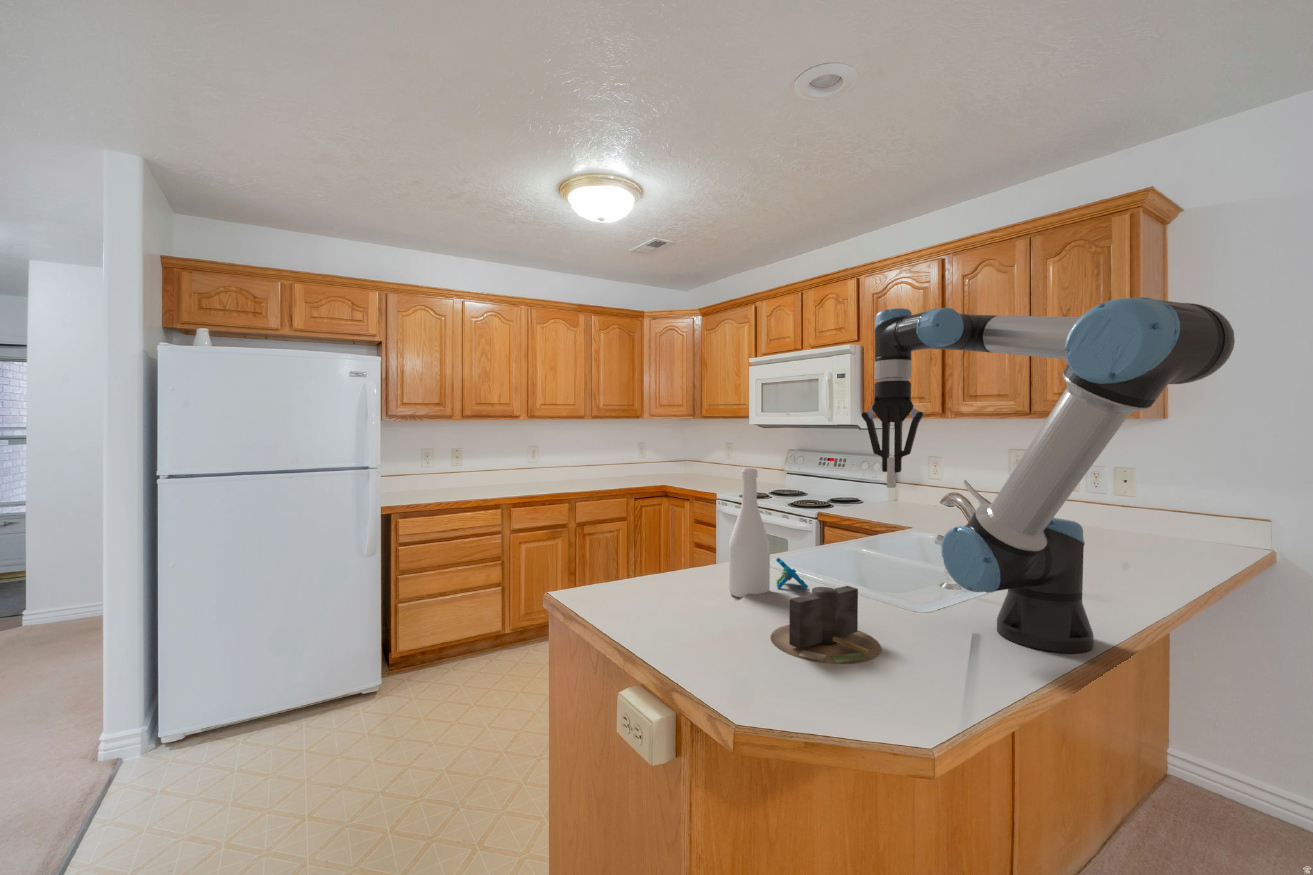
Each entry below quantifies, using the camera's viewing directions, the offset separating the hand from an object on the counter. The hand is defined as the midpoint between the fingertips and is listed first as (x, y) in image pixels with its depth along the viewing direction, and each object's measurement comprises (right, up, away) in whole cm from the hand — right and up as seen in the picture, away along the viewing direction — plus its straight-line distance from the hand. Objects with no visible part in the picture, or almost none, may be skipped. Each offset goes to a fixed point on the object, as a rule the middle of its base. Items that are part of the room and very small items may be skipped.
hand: (891, 486), depth 127 cm
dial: (-22, -27, -24) cm, 43 cm away
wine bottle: (-30, -26, +9) cm, 41 cm away
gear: (-19, -26, +14) cm, 35 cm away
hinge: (-20, -25, -27) cm, 43 cm away
